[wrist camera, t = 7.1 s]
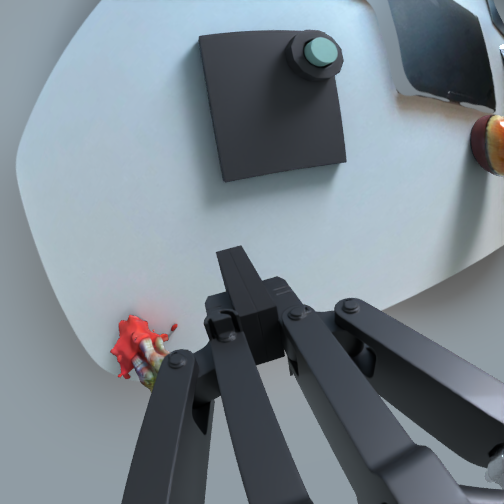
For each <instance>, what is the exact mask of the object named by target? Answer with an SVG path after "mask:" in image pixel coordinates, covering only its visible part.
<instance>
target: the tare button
mask: <svg viewBox="0 0 504 504" xmlns="http://www.w3.org/2000/svg"><path fill="white" fill-rule="evenodd" d="M304 54H305V57H306V59H307V60H308V61H309V62H310V63H311V64H313V65H315V66H325V65H327V64H329V63H331V62H333V61H335V60H336V58H337V54H338V52H337V48H336V46H335V45H334V44H333V43H332V42H331V41H330V40H328V39H326V38H322V37H320V38H316V39H314V40H313V41H311V42H310V43H308V44H307V45H306V46H305V49H304Z"/></svg>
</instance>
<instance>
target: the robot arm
mask: <svg viewBox="0 0 504 504" xmlns="http://www.w3.org/2000/svg"><path fill="white" fill-rule="evenodd" d="M216 254H217V258H218V262H219V266H220V270H221V274H222V277H223V281H224V285H225V289H226V292H223V293H219V294H216V295H212V296H208V298H207V300H206V302H205V307H206V312H207V317H206V318H205V320H204V326H205V329H206V332H207V334H208V337H209V342H208V344H207V345H206V346H205V347H204V348H202V349H201V350H199V351H197V352H195V353H192V352H191V351H189V350H183V349H180V350H175V351H173V352H171V353H169V354H168V355H167V356H165V357H164V359H163V360H162V362H161V365H160V368H159V371H158V374H157V377H156V381H155V384H154V387H153V390H152V394H151V396H150V400H149V403H148V407H147V410H146V413H145V416H144V420H143V423H142V427H141V430H140V433H139V437H138V440H137V444H136V448H135V451H134V455H133V459H132V463H131V467H130V471H129V474H128V478H127V482H126V486H125V490H124V495H123V499H122V503H121V504H204V502H205V501H204V500H205V490H206V479H207V469H208V459H209V449H210V440H211V430H212V421H213V412H214V403H215V401H214V399H215V398H217V397H219V396H221V398H222V402H223V407H224V411H225V416H226V420H227V424H228V428H229V432H230V436H231V440H232V444H233V448H234V452H235V456H236V460H237V463H238V467H239V471H240V474H241V477H242V481H243V485H244V488H245V492H246V495H247V498H248V502H249V504H313V502H312V501H311V499H310V498H309V495H308V493H307V491H306V488H305V486H304V484H303V481H302V479H301V477H300V474H299V472H298V470H297V468H296V465H295V463H294V460H293V458H292V456H291V453H290V451H289V448H288V446H287V444H286V441H285V439H284V436H283V434H282V431H281V429H280V426H279V424H278V421H277V419H276V416H275V414H274V411H273V409H272V406H271V404H270V401H269V398H268V396H267V393H266V391H265V388H264V386H263V383H262V380H261V378H260V375H259V372H258V370H257V367H256V365H259V364H262V363H265V362H269V361H272V360H275V359H278V358H281V357H284V356H285V353H284V350H285V352H286V354H287V356H288V363H289V370H290V376H291V375H293V374H294V376H295V378H296V380H297V382H298V384H299V386H300V387H301V390H302V392H303V394H304V396H305V398H306V399H307V402H308V404H309V405H310V407H311V409H312V411H313V413H314V415H315V417H316V419H317V421H318V423H319V425H320V427H321V429H322V431H323V433H324V435H325V436H326V438H327V440H328V442H329V444H330V446H331V448H332V450H333V452H334V454H335V456H336V457H337V459H338V461H339V463H340V465H341V467H342V469H343V471H344V473H345V474H346V476H347V478H348V480H349V482H350V484H351V486H352V488H353V490H354V491H355V494H356V496H357V501H358V504H504V383H502V382H500V381H499V380H497V379H495V378H494V377H493V376H491V375H489V374H488V373H486V372H484V371H483V370H481V369H479V368H477V367H476V366H474V365H473V364H470V363H469V362H467V361H466V360H464V359H462V358H460V357H459V356H457V355H455V354H454V353H452V352H451V351H449V350H447V349H446V348H444V347H442V346H440V345H439V344H437V343H435V342H433V341H432V340H430V339H428V338H427V337H425V336H423V335H422V334H419V333H418V332H416V331H415V330H413V329H411V328H410V327H408V326H406V325H404V324H403V323H401V322H399V321H397V320H396V319H394V318H392V317H391V316H389V315H387V314H385V313H384V312H382V311H380V310H378V309H377V308H375V307H373V306H371V305H370V304H368V303H366V302H364V301H363V300H360V299H357V298H347V299H343V300H341V301H339V302H338V303H337V304H336V305H335V308H334V310H335V311H327V312H315V311H314V309H313V308H311V307H310V306H307V305H303V304H302V302H301V301H300V300H299V298H298V297H297V296H296V294H295V293H294V292H293V291H292V289H291V288H290V286H289V285H288V284H287V282H286V281H285V280H284V279H282V278H280V277H278V276H277V277H274V278H270V279H267V280H263V281H262V280H261V278H260V277H259V275H258V273H257V271H256V270H255V268H254V266H253V265H252V263H251V261H250V259H249V258H248V256H247V254H246V253H245V251H244V249H243V248H242V246H237V247H233V248H229V249H226V250H222V251H218V252H216ZM378 394H379V395H380V396H381V397H383V398H384V399H385V400H386V401H388V402H389V403H390V404H391V405H393V406H394V407H395V408H396V409H398V410H399V411H401V412H402V413H403V414H404V415H406V416H407V417H408V418H410V419H411V420H412V421H413V422H415V423H416V424H417V425H419V426H420V427H421V428H423V429H424V430H425V431H426V432H428V433H429V434H430V435H432V436H433V437H435V438H436V439H437V440H438V441H440V442H441V443H442V444H444V445H445V446H447V447H448V448H449V449H451V450H452V451H454V452H455V453H456V454H458V455H459V456H460V457H462V458H464V459H465V460H467V461H469V462H470V463H473V464H476V465H478V466H481V467H485V468H487V471H486V473H485V479H486V480H487V481H488V482H493V481H494V482H495V483H497V484H499V485H500V486H501V487H502V489H503V490H500V489H488V488H479V487H472V486H465V485H458V484H457V483H456V481H455V480H454V479H453V477H452V476H451V474H450V473H449V472H448V470H447V469H446V468H445V466H444V465H443V464H442V462H441V461H440V459H439V458H438V457H437V455H436V454H435V453H434V452H433V451H432V450H431V449H430V448H428V447H426V446H420V445H417V444H415V443H414V442H413V441H412V440H411V438H410V437H409V436H408V434H407V433H406V431H405V430H404V429H403V427H402V426H401V425H400V423H399V422H398V421H397V419H396V418H395V416H394V415H393V414H392V412H391V411H390V410H389V408H388V407H387V406H386V404H385V403H384V402H383V400H382V399H381V398H380V396H379V395H378Z"/></svg>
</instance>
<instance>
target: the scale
mask: <svg viewBox="0 0 504 504" xmlns="http://www.w3.org/2000/svg"><path fill="white" fill-rule="evenodd" d="M320 37H322V38H326V39H328V40H330V41H331V42H332V43H333V44H334V45H335V46H336V48H337V52H338V54H337V58H336V60H335V61H333V62H331V63H329V64H327V65H325V66H315V65H313V64H311V63H310V62H309V61H308V60H307V59H306V57H305V54H304V49H305V46H306V45H307V44H308V43H310V42H311V41H313V40H314V39H316V38H320ZM199 46H200V52H201V58H202V64H203V70H204V76H205V82H206V88H207V93H208V99H209V105H210V110H211V116H212V122H213V127H214V133H215V138H216V144H217V149H218V155H219V160H220V166H221V171H222V176H223V181H224V182H230V181H235V180H240V179H245V178H250V177H255V176H261V175H266V174H272V173H277V172H283V171H289V170H295V169H302V168H308V167H315V166H322V165H329V164H337V163H345V162H346V152H345V143H344V134H343V126H342V119H341V112H340V105H339V99H338V93H337V87H336V82H335V75H336V74H338V73H339V72H340V70H341V67H342V64H343V61H344V60H343V56H342V51H341V48H340V47H339V45H338V44H337V43H336V42H335V40H334V39H333V38H332V37H330V36H329V35H327V34H325V32H321V31H318V30H304V31H289V30H266V31H243V32H230V33H220V34H211V35H203V36H199Z"/></svg>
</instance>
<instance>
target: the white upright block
mask: <svg viewBox="0 0 504 504" xmlns="http://www.w3.org/2000/svg"><path fill="white" fill-rule="evenodd" d="M500 50H501V52H502V55H503V57H504V45H500Z"/></svg>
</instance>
